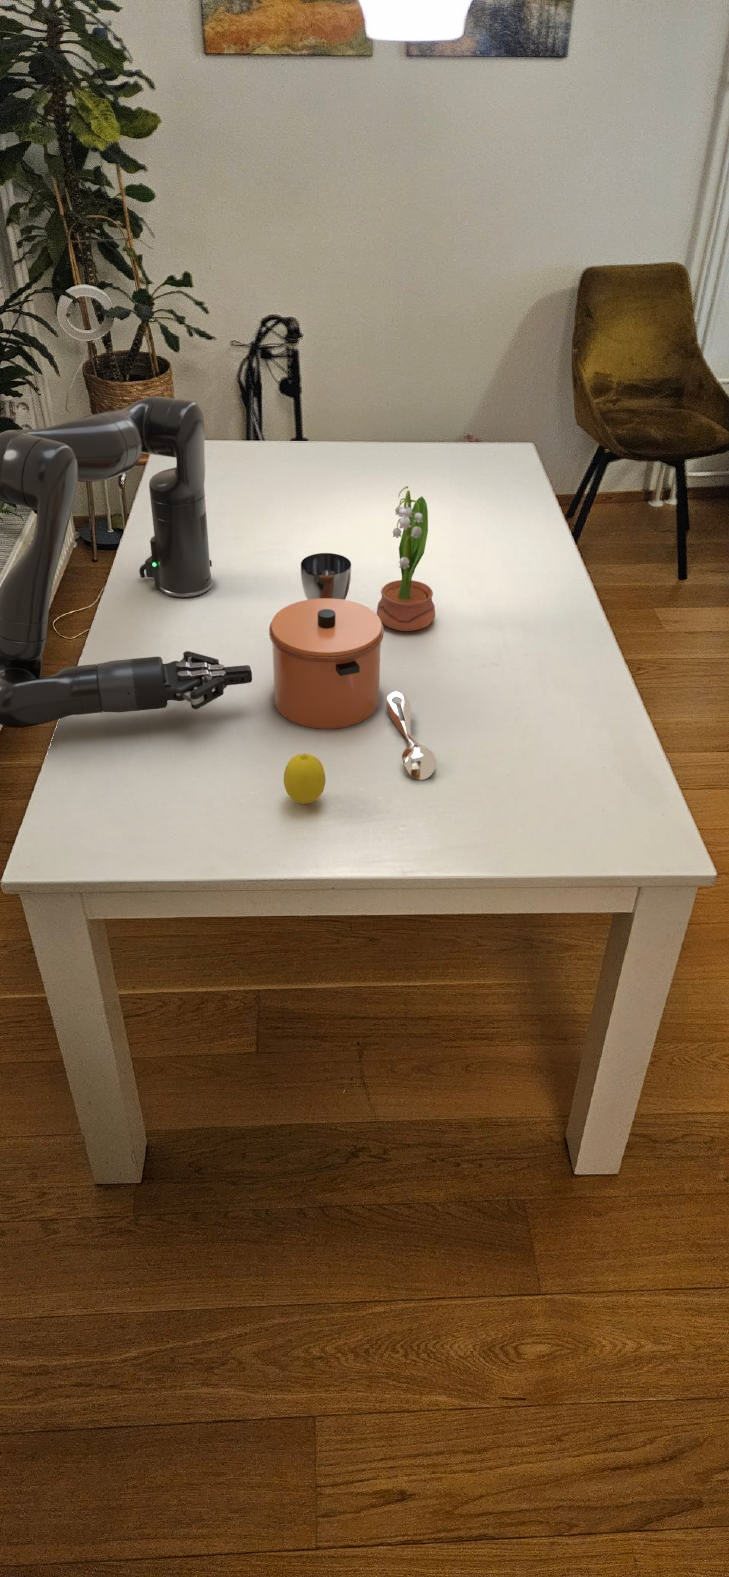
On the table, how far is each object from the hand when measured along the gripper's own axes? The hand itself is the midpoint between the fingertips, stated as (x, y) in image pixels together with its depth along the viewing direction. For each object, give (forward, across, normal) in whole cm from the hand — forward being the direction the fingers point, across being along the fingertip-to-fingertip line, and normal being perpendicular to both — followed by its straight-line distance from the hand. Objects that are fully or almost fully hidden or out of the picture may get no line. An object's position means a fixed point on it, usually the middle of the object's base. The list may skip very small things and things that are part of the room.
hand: (251, 673), depth 162 cm
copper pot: (+12, +1, +6) cm, 13 cm away
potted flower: (+29, +22, +7) cm, 37 cm away
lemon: (+4, -24, +7) cm, 25 cm away
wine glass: (+14, +16, +7) cm, 23 cm away
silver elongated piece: (+21, -12, +7) cm, 25 cm away
